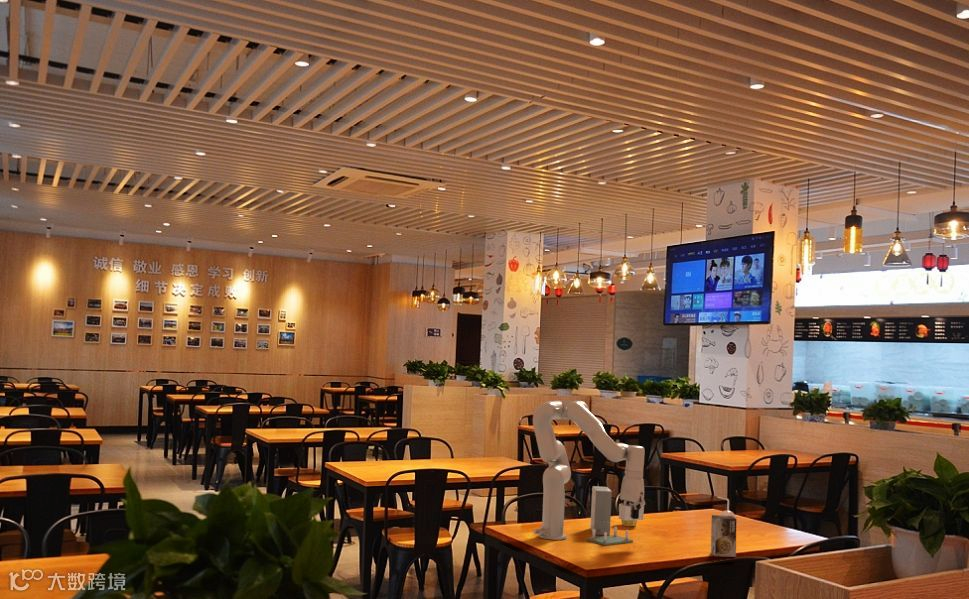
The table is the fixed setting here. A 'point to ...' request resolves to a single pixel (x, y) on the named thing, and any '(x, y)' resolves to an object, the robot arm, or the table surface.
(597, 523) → the hard drive box
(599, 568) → the table surface
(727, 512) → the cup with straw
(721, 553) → the coffee box
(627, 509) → the white open box
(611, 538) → the pin tray
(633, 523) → the plant pot
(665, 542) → the table surface
